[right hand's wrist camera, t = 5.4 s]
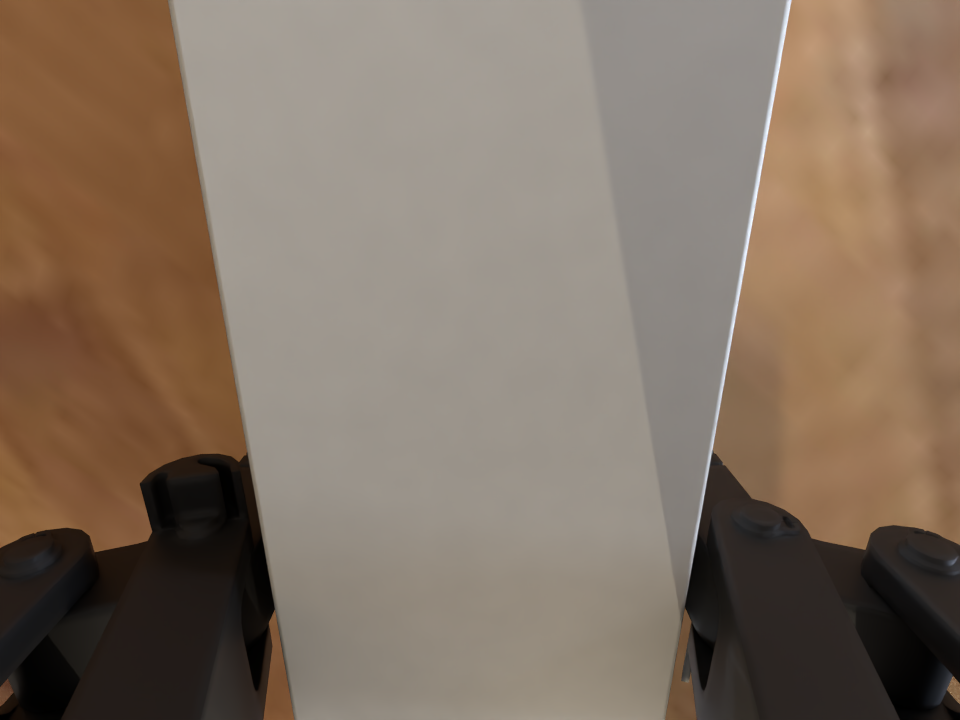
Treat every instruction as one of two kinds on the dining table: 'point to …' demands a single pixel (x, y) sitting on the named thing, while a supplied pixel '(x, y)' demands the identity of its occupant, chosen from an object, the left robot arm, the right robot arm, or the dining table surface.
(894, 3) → the dining table surface
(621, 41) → the bar
